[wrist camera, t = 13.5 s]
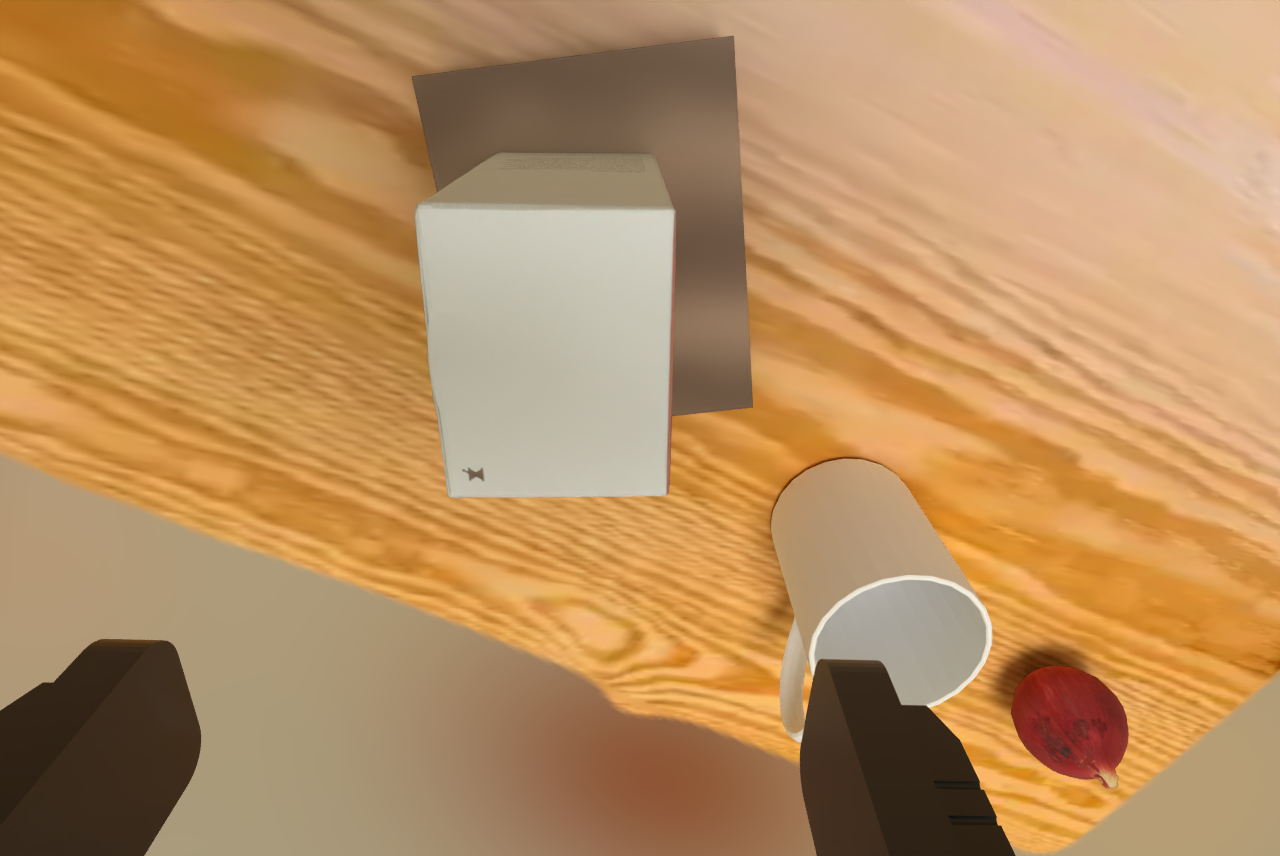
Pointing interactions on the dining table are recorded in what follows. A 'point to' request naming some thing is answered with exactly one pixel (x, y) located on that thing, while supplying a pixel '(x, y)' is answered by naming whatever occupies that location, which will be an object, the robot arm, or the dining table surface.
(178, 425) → the dining table surface
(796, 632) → the mug
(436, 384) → the small box
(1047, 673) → the onion
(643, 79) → the walnut block
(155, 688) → the robot arm
